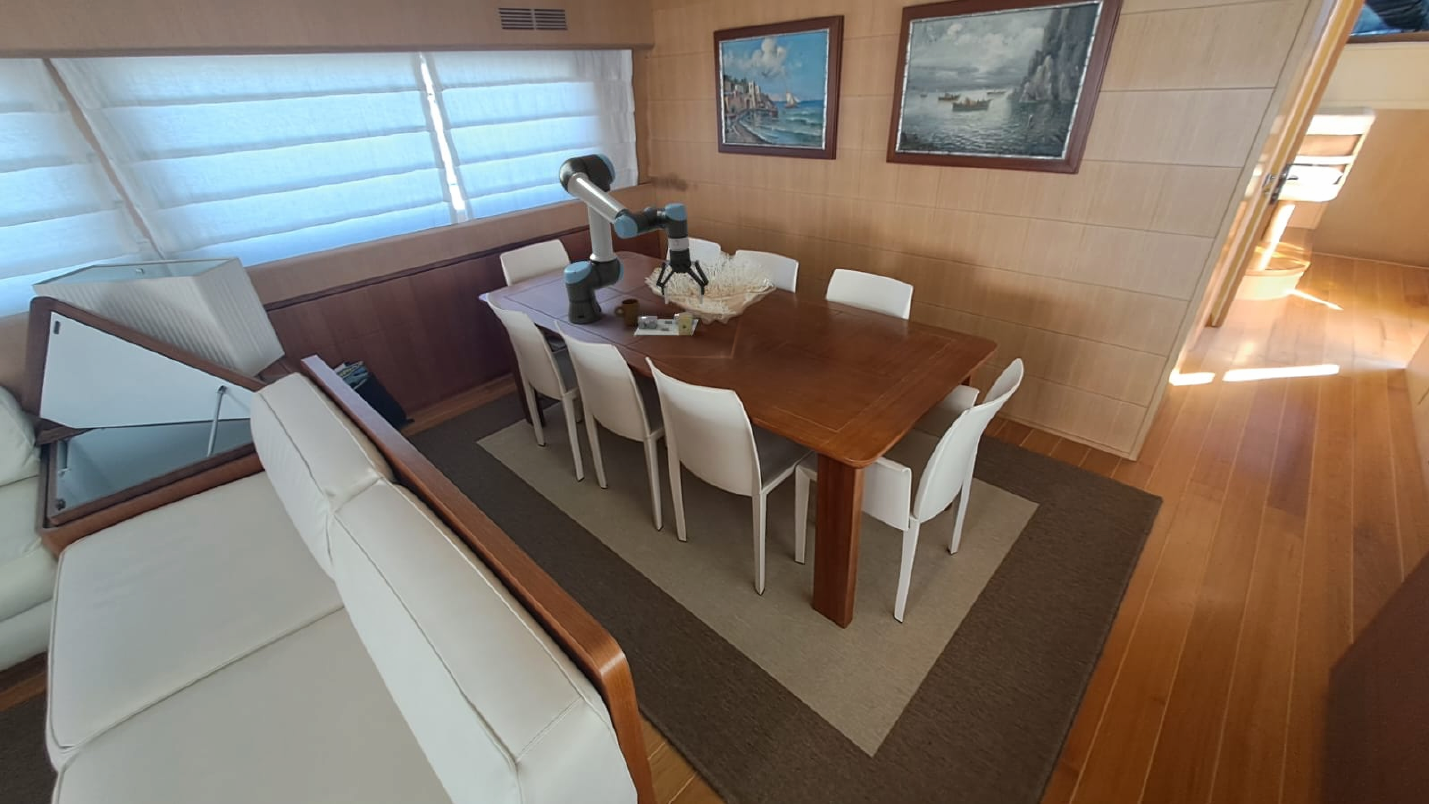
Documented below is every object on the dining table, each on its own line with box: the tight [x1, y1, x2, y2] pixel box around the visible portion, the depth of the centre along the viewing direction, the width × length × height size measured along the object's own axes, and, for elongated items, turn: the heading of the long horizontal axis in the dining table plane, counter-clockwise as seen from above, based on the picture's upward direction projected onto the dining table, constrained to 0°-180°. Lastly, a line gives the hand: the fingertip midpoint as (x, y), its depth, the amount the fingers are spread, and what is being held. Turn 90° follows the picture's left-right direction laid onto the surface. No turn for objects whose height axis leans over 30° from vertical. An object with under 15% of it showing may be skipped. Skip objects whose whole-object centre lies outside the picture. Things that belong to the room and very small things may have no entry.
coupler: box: [677, 313, 694, 336], centre depth 216 cm, size 5×5×7 cm
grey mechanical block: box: [637, 315, 658, 329], centre depth 224 cm, size 8×5×5 cm, turn 82°
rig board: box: [633, 318, 699, 338], centre depth 224 cm, size 24×16×2 cm, turn 82°
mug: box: [613, 298, 642, 326], centre depth 229 cm, size 12×8×9 cm, turn 131°
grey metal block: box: [673, 310, 695, 326], centre depth 225 cm, size 8×5×5 cm, turn 112°
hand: (684, 302), depth 211 cm, fingers open, 13 cm apart
